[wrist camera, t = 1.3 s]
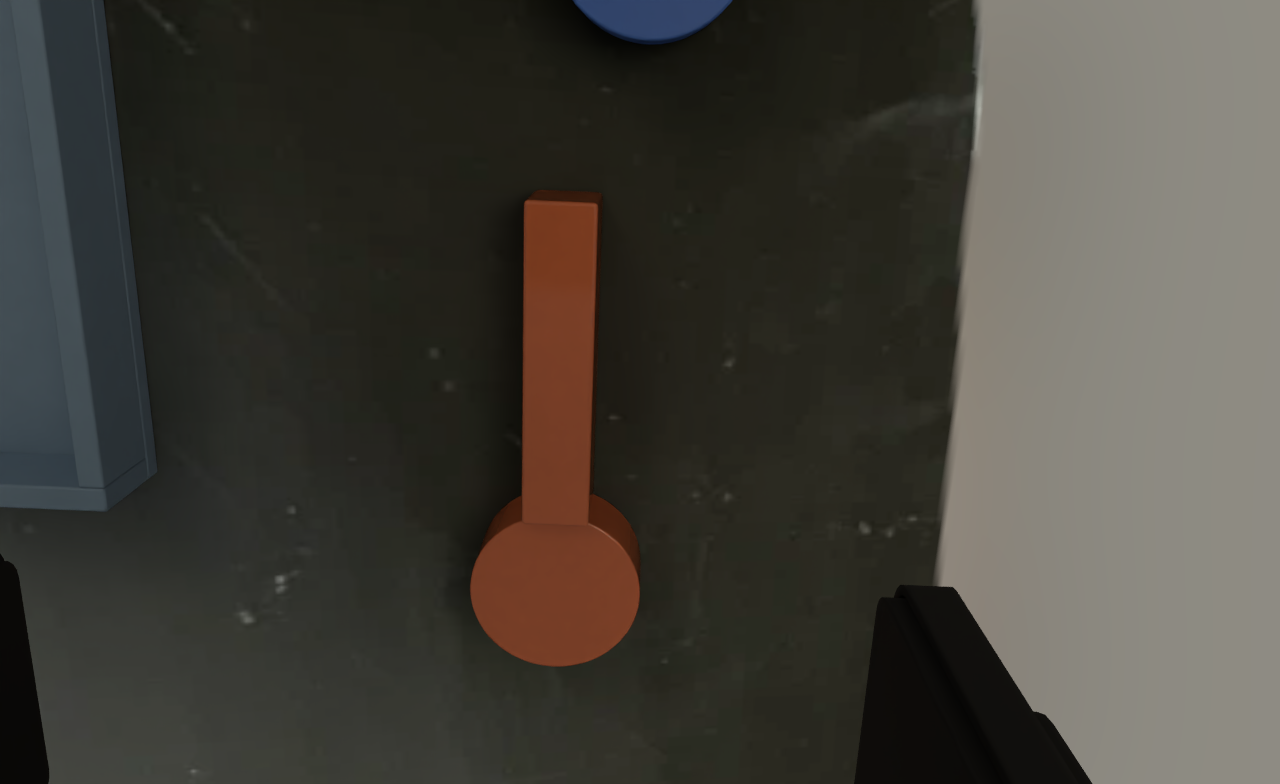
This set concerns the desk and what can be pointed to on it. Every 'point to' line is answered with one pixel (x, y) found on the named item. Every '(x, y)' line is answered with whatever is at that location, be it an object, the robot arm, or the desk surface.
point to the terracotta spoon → (558, 463)
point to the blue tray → (66, 270)
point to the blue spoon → (652, 18)
